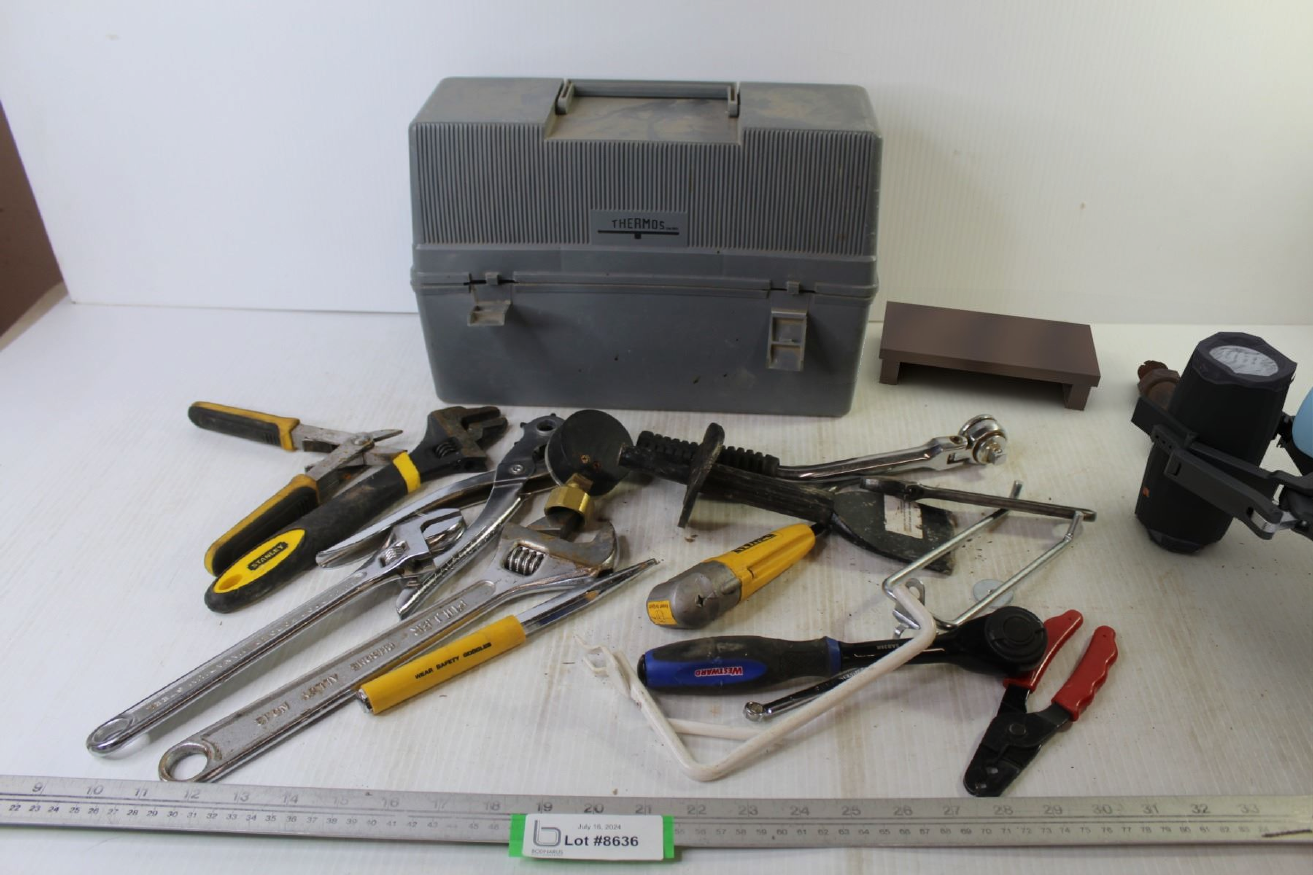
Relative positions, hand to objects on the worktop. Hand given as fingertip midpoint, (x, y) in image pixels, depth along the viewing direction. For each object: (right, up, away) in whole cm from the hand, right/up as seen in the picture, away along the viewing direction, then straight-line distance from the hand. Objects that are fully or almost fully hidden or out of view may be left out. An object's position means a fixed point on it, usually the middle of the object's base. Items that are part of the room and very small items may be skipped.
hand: (1180, 399), depth 90 cm
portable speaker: (+1, -12, +4) cm, 13 cm away
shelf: (-10, +4, +27) cm, 29 cm away
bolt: (+8, -2, +19) cm, 21 cm away
